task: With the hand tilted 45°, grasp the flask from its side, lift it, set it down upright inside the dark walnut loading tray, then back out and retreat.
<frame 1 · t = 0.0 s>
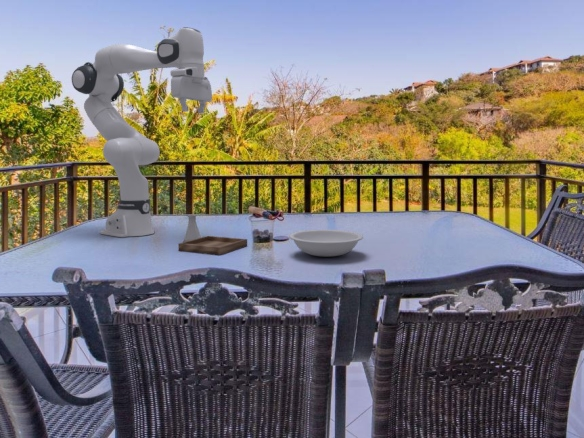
hand: (193, 112, 180), 48 cm above the table, tool pointing down, fingers open, 8 cm apart
soup bowl: (325, 255, 158), on the table
walnut tray: (213, 248, 169), on the table
flask: (192, 241, 183), on the table
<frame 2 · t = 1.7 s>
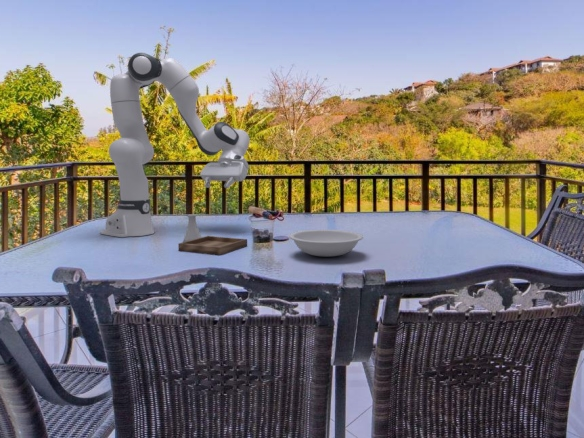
hand: (216, 187, 195), 19 cm above the table, tool tilted 45°, fingers open, 8 cm apart
nothing on the table moved.
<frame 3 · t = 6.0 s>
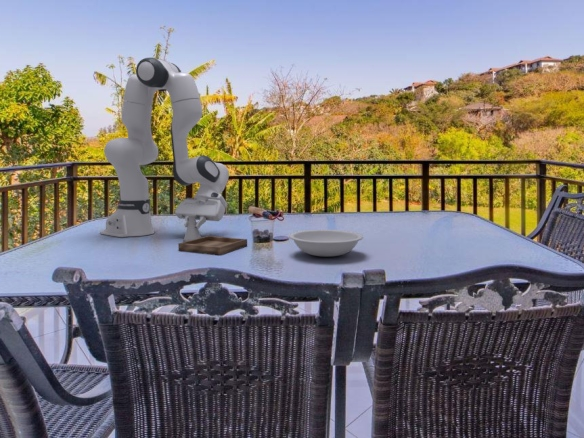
hand: (191, 227, 182), 5 cm above the table, tool tilted 45°, fingers closed on flask, 3 cm apart
flask: (192, 241, 183), on the table, touching gripper
everything else where it was.
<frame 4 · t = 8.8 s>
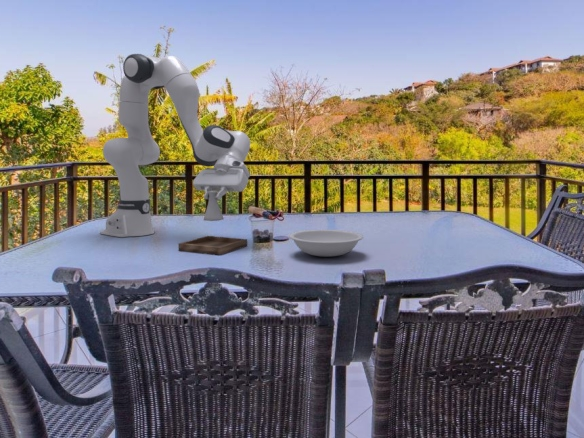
hand: (211, 198, 166), 18 cm above the table, tool tilted 45°, fingers closed on flask, 3 cm apart
flask: (213, 220, 168), point 10 cm above the table, touching gripper
everything else where it was.
when the fingers open (8 cm above the table, at t = 11.0 s): flask stays where it is, resting on walnut tray.
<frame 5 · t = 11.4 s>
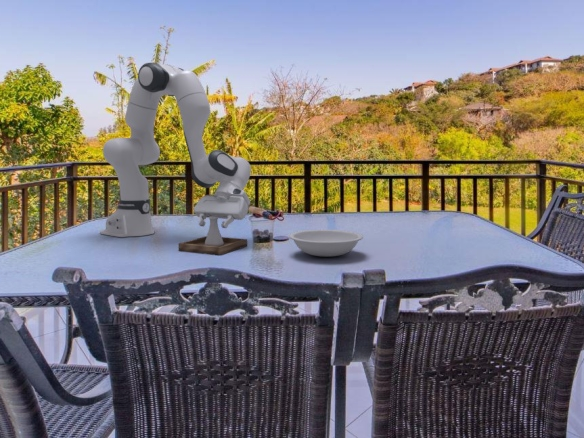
hand: (212, 226, 167), 8 cm above the table, tool tilted 45°, fingers open, 8 cm apart
flask: (214, 246, 169), point 1 cm above the table, touching walnut tray
everything else where it was.
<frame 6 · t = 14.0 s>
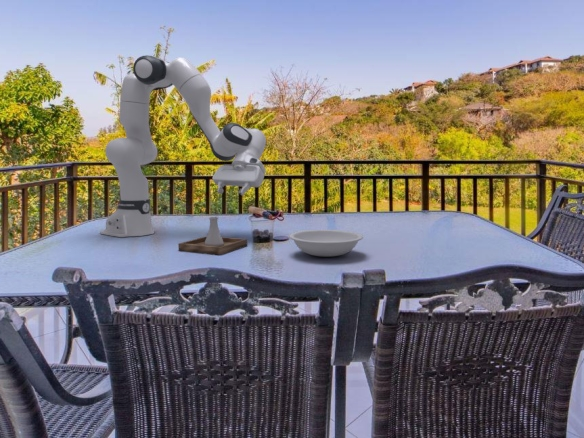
hand: (230, 193, 178), 18 cm above the table, tool tilted 45°, fingers open, 8 cm apart
nothing on the table moved.
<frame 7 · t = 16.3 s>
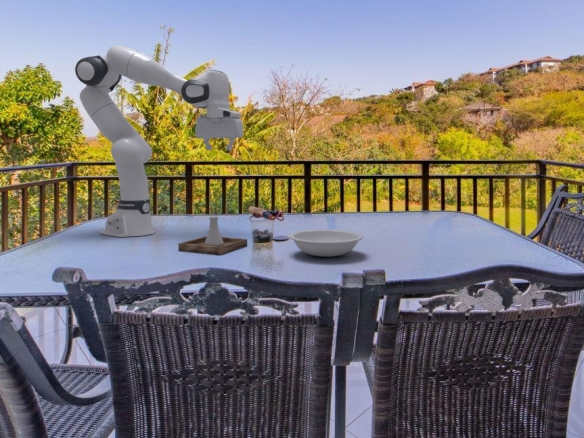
hand: (219, 150, 189), 34 cm above the table, tool pointing down, fingers open, 8 cm apart
nothing on the table moved.
at the end: flask inside the target area on the walnut tray (0.2 cm from its centre), point 0.8 cm above the walnut tray's base; flask tilted 0°; the gripper is holding nothing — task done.
